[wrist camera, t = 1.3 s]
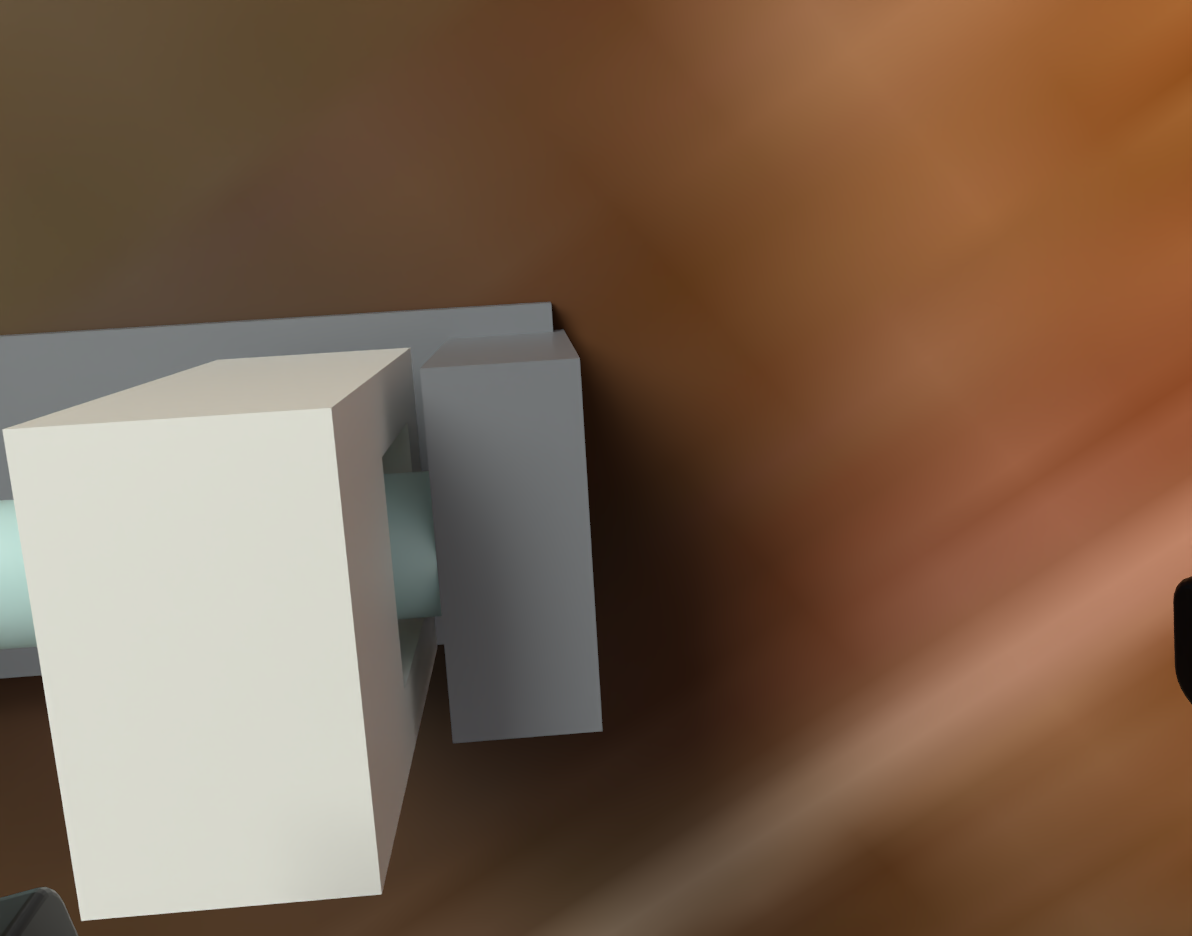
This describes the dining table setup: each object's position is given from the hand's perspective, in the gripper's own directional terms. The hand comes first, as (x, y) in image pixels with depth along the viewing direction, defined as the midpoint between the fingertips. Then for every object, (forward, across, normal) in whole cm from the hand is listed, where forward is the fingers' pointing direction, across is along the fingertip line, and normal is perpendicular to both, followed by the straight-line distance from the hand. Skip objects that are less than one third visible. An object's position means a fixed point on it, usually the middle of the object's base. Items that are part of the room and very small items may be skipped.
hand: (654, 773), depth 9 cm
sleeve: (+10, +3, +1) cm, 11 cm away
